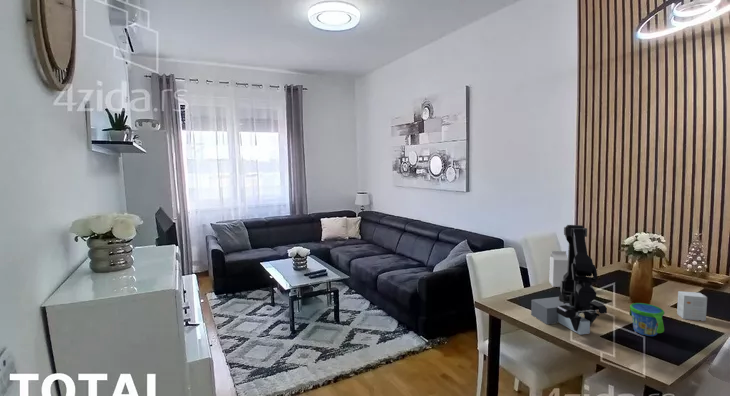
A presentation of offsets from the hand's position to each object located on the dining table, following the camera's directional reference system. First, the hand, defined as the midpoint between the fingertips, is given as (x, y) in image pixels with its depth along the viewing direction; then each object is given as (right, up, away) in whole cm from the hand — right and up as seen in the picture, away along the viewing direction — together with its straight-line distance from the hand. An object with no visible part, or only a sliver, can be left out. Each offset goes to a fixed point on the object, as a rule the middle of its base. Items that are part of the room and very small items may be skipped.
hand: (580, 330), depth 145 cm
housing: (-3, 0, +14) cm, 15 cm away
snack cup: (+25, -1, -1) cm, 25 cm away
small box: (+54, +1, +11) cm, 55 cm away
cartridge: (-2, 0, +7) cm, 7 cm away
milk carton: (+20, +5, +55) cm, 58 cm away
